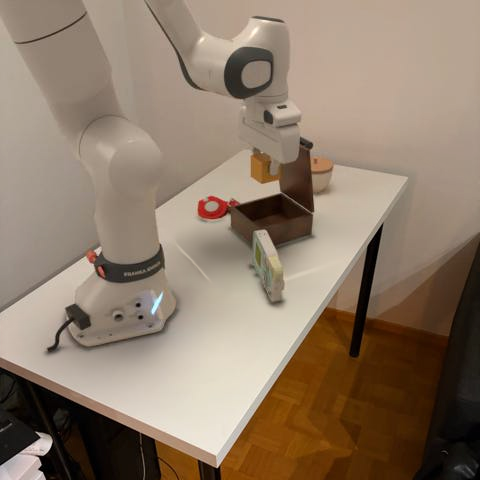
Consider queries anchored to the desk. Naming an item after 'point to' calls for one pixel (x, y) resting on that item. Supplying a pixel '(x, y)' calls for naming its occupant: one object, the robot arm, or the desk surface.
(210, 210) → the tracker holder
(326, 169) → the trinket box
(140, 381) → the desk surface
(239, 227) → the chest
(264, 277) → the handheld gaming console
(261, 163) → the block
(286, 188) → the lid
